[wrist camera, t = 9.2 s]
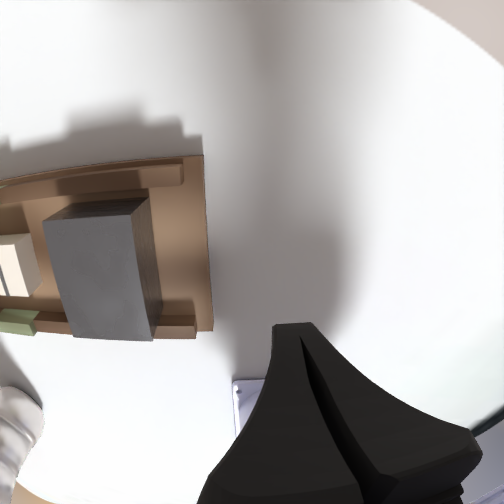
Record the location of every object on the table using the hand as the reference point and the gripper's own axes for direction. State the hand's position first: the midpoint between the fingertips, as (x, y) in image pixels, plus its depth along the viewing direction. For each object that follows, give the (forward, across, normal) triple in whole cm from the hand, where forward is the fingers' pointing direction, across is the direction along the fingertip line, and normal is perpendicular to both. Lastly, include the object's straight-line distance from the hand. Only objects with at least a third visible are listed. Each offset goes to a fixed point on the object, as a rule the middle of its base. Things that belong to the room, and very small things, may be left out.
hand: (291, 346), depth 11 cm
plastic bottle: (+10, +26, +17) cm, 32 cm away
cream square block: (+8, +17, 0) cm, 19 cm away
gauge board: (+9, +14, 0) cm, 16 cm away
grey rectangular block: (+8, +9, 0) cm, 12 cm away
